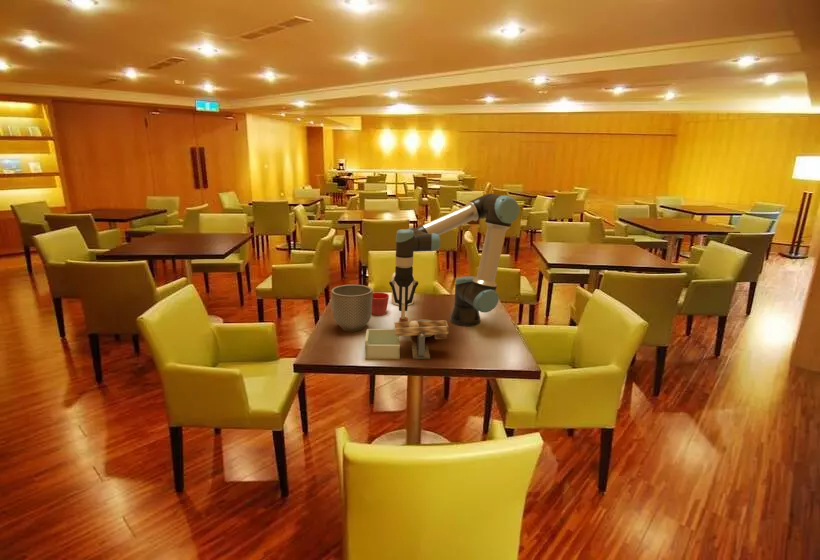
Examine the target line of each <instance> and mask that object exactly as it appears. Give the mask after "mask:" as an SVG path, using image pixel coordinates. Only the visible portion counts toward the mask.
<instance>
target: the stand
mask: <svg viewBox="0 0 820 560" xmlns="http://www.w3.org/2000/svg"><path fill="white" fill-rule="evenodd" d="M416 336H417V337H416V339H417V341H416V344H412V345H411V353H412V359H413V360H430V359H431V354H430V349H429V345H428V344H426V343H425V342H426V337H425V332H419V335H416Z"/></svg>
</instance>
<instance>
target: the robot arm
mask: <svg viewBox="0 0 820 560" xmlns="http://www.w3.org/2000/svg"><path fill="white" fill-rule="evenodd" d="M519 214H520V207H519V203H518V202H517V200H516V199H515V198H513V197H512V196H509V195H507V194H505V195H504V194H496V193H488V194H483V195H481V196H479V197H477V198H474V199H472V200H470V201H468V202H466V205H464V206H462V207H460V208H458V209H454V210H453V211H451V212H449V213H447V214H444V215H442V216H439V217H438V218H435V219H433V220H431V221H429V222H427V223H424V224H422V225H420V226H417V227H416V228H415V227H409V228H405V229H404V228H403V229H402V228H401V229H398V230H397V231H396V235H395V267H394V268H395V270H394V271H395V277H394V279H393V280H392V279H391V280H389V282H388V283H389V285H390V287H391V292H392V291H393V296H394V300H395V303H398V304H399V306H398V311H399V312H400V313H401V314H400V316H401V319H405V317H406V316H405V314H406V312H408V306H409V305H408V304H409V303H412V300H413V296H415V292H416V289H417V288H418V285H419V281H418V280H416V279H415V277H414V278H413V275H414V273H413V271H414V267H413V266H414V253H416V252H417V253H418V252H419V253H420V252H434V251H435V252H436V251H438V250H439V249H440V248H441V237H440V236H441V235H443V234H445V233H448V232H450V231H452V230H454V229H456V228H459V227H461V226H463V225H465V224H467V223H469V222H471V221H474V222H477V221H478V220H482V219H485V221H484V223H485V225H486V226H487V227H486V233H485V237H484V240H483V246H482V250H481V251H482V252H481V255H480V259H479V263H478V268H477V274H476V276H468V275H467V276H459V277H456V279H455V282H454V302H453V303H454V304H453V308H452V312H451V313H450V317H449V320H450V322H451V323H452V324H453V325H457V326H461V327H475V326H478V325H479V324H480V323H481V316H480V313H489V312H491V311H492V310H494V309H495V308H496V307H497V305H498V303H499V300H500V296H499V294H498V292H497V286H498V284H497V282H496V278H497V272H498V267H499V263H500V259H501V255H502V250H503V246H504V242H505V238H506V234H507V231H508V230H509V229H510V228H511V226H512V223H513V222H515V220H517V219H518V216H519ZM395 282H396V283H397V285H398V286H399V300H398V299H397V295H396V291H395V286H394V285H395ZM412 282H413V287H412V291H411V294H410V298H409V300H408V287H409V286H410V284H411V283H412ZM402 287H405V303H402Z"/></svg>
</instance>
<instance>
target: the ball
mask: <svg viewBox="0 0 820 560" xmlns="http://www.w3.org/2000/svg"><path fill="white" fill-rule="evenodd" d="M409 322H410V323H409V327H410V328H411V327H419V324H418V322H417V321H416V320H411V321H409Z"/></svg>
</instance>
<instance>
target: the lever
mask: <svg viewBox="0 0 820 560" xmlns="http://www.w3.org/2000/svg"><path fill="white" fill-rule="evenodd" d="M410 322H411V321H409V317H407V316H405V319H401V317H398V321H397V322H396V321H394V329H395V336H399V337H404V336H405V337H406V336H417V335H419V332H425V335H432V336H433V337H434V340H445V339H446V340H448V335H449V324H448V321H447V320H444V319H443V320H432V321H417V322H418V324H419V327H411V328H410V327H409V323H410Z"/></svg>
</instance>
